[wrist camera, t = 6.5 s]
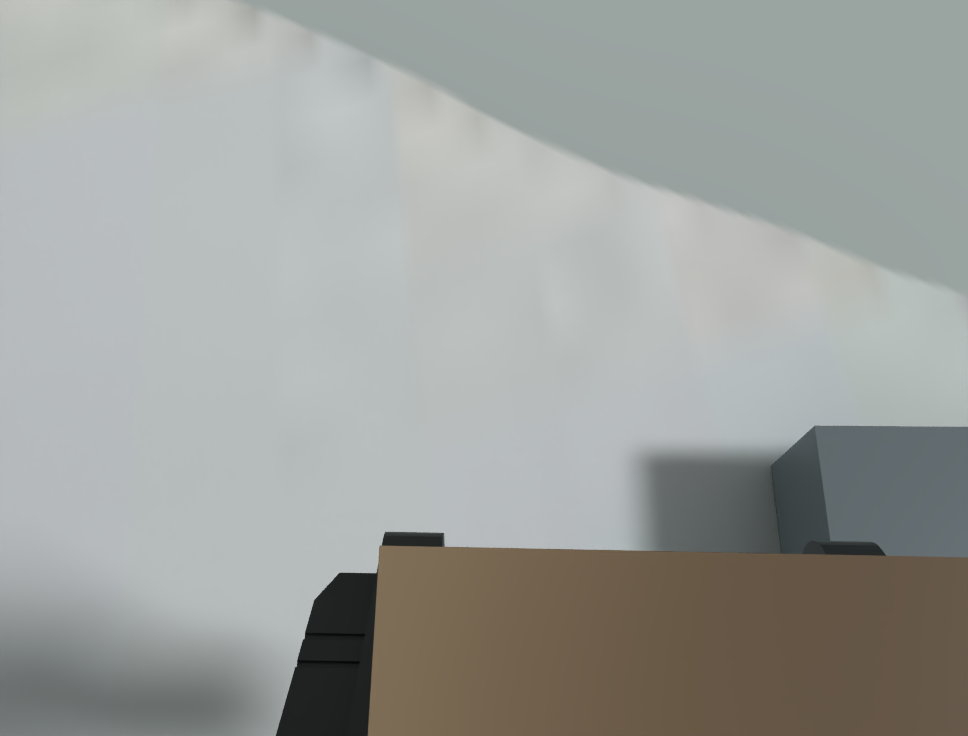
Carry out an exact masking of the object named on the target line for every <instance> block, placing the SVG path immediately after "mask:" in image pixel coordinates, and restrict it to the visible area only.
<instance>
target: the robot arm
mask: <svg viewBox="0 0 968 736" xmlns="http://www.w3.org/2000/svg"><path fill="white" fill-rule="evenodd" d="M382 546H423V547H444V533H417V532H385V534H384V538H383V543H382ZM802 554H823V555H873V556H886V555H885V553H884V552H883V550H882V549H881V548H880V547H879V546H878V545H877V544H876V543H874V542H858V541H810V542H808V543H807V544H806V546H805V548H804V550H803V553H802ZM377 579H378V569H377V573H339V574H338V575H337V576H336V577H335V578H334V580H333V581H332V582H331V583H330V584H329V585H328V586H327V587H326V588H325V589H324V590H323V591H322V593H321V594H320V595H319V596H318V597H317V598H316V599H315V600H314V603H313V607H312V611H311V614H310V618H309V621H308V625H307V628H306V632H305V639H303V642H302V646H301V649H300V653H299V656H298V660H297V667H295V670H294V674H293V677H292V681H291V684H290V688H289V691H288V695H287V699H286V702H285V706H284V709H283V713H282V716H281V720H280V723H279V727H278V730H277V734H276V736H368V724H369V708H370V692H371V676H372V660H373V644H374V628H375V612H376V595H377Z"/></svg>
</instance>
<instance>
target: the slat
mask: <svg viewBox="0 0 968 736" xmlns="http://www.w3.org/2000/svg"><path fill="white" fill-rule="evenodd" d="M368 736H968V557H923V556H873V555H823V554H773V553H723V552H673V551H623V550H573V549H523V548H473V547H423V546H380V547H379V563H378V579H377V595H376V612H375V628H374V644H373V660H372V676H371V692H370V708H369V724H368Z"/></svg>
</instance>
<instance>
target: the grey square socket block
mask: <svg viewBox="0 0 968 736" xmlns="http://www.w3.org/2000/svg"><path fill="white" fill-rule="evenodd" d="M771 468H772V477H773V486H774V494H775V503H776V512H777V520H778V529H779V538H780V546H781V554H802V553H803V550H804V548H805V546H806V544H807V543H808V542H810V541H858V542H874V543H876V544H877V545H878V546H879V547H880V548H881V549H882V550H883V552H884V553H885V555H886V556H923V557H968V427H899V426H814V427H813V428H812V429H811V430H810V431H809V432H807V433H806V434H805V435H804V436H803V437H802V438H801V439H800V440H799V441H798V442H797V443H795V444H794V445H793V446H792V447H791V448H790V449H789V450H788V451H787V452H786V453H785V454H784V455H782V456H781V457H780V458H779V459H778V460H777V461H776V462H775V463H774V464H773V465H772V466H771Z"/></svg>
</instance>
